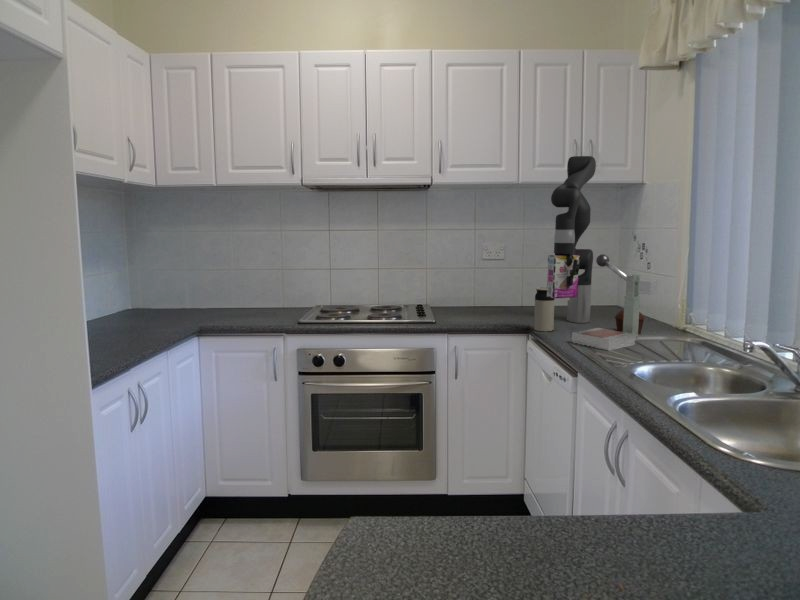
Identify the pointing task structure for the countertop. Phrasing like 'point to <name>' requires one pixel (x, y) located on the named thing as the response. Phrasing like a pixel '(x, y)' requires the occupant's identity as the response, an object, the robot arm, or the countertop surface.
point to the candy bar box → (560, 278)
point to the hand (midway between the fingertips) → (562, 285)
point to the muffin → (619, 321)
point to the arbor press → (630, 323)
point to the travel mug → (543, 311)
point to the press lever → (643, 285)
